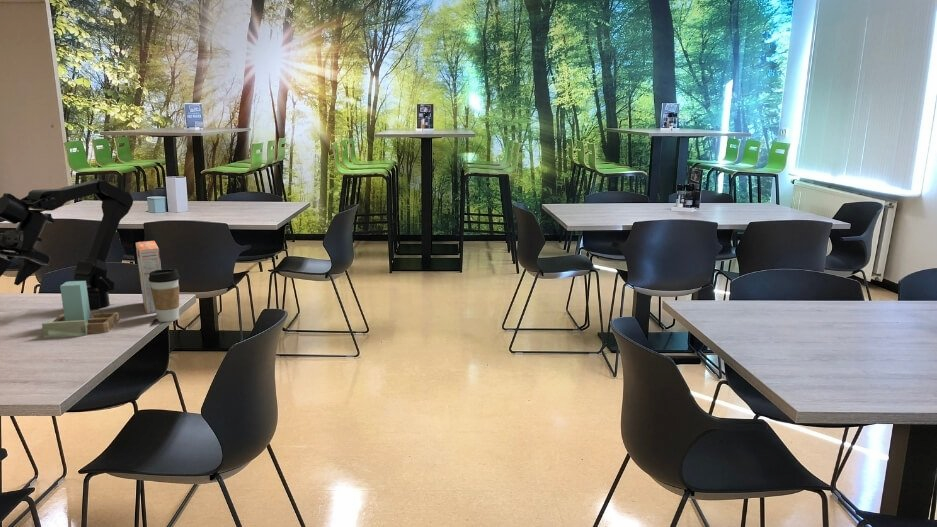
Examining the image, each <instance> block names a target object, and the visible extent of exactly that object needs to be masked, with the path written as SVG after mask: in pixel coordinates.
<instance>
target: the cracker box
mask: <svg viewBox="0 0 937 527" xmlns="http://www.w3.org/2000/svg"><path fill="white" fill-rule="evenodd" d="M135 250H136V257H137V266H138V273H139V280H140V289H141V296H142V303H143V304H142V305H143V308H144V311H145V313H146V314H151V313H153V314H154V313H156V309H155V305H154V300H153V296H152V291H151V283H150V282H149V273H150V272H152V271H155V270H162V266H161V257H160V256H161V255H160V248H159V247H158V245H157V243H156V241H155V240H148V241H145V240H144V241H138V242H135Z"/></svg>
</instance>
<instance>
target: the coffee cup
mask: <svg viewBox="0 0 937 527" xmlns="http://www.w3.org/2000/svg"><path fill="white" fill-rule="evenodd" d="M179 279H180V274H179V271H178V269H177V268H165V269H164V268H163V269H162V268H161V270H155V271H152V272H150V273H149V282H150V283H151V291H152V296H153V300H154V305H155V309H156V312H155V313H156V319H157V321H158V322H161V323H162V322H163V323H168V322H169V323H170V322H173V321H177V320H178V319H180V284H179Z"/></svg>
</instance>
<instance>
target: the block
mask: <svg viewBox="0 0 937 527" xmlns="http://www.w3.org/2000/svg"><path fill="white" fill-rule="evenodd" d="M59 289H60V294H61V301H62V303H61V304H62V309H63V314H64V317H65V321H77V320H86V324H87V323H88V320H89V319H90V318H92V316H91V310H90V308H89V300H88V293H87V285H86V281H75V280H74V281H73V280H72V281H70V280H69V281H66V282H64V283H63V284H60V286H59Z"/></svg>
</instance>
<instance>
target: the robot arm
mask: <svg viewBox="0 0 937 527" xmlns="http://www.w3.org/2000/svg"><path fill="white" fill-rule="evenodd" d="M27 193H28V194H27V195H26V196H24V197H22V198H20V199H19V198H18V197H16V196H15V195H13V194H11V193H6V192H5V193H3V195H2V196H0V219H1V220H4V221H6V222H9V223H10V224H13V225H16V224H17V226H16V228H15V229H10V230H6V231H5V232H4V233H3V232H2V233H1V232H0V278H1V277H2V276H3V274H4V273H5V272H6V271H7V270H8V269H9V267H10V266H11V265H12V263H13V260H14V259H15V258H17V259H18V262H19V268H18V270H17V272H16V275H15V278H14V282H13V285H16V286H20V285H21V284H22V283H23V282H24V281H25V280H27V279H28V278H29V277H31V276H32V275H33V274H34V273H36V272H37V271H39V270H40V269H41V268H44V267H45V266H49V264H50V262H51V260H52V259H51V255H50V254H48V253H46V252H44V251H41V250H39V249H37V248H36V245H37V243H42V240H43V238H41V237H40V236H41V233H42V232H43V230H44V227H45V225H46V223H48V224H55V219H54V218H53V216H52V214H51V213H48V212H50V211H51V212H52V211H55V210H57V209H59V208H61V207H63V206H64V205H65V204H67V203H68V202H70V201H74V200H79V199H82V198H84V197H88V196H92V195H94V196H95V197H96V198H97V199H98V200H100V201H101V211H102V214H103V215H102V219H101V221H100V224H99V226H98V229H97V232H96V235H95V238H94V240H93V243H92V245H91V248H90V251H89V254H88V257H87V258H86V259H85V260H78V261H77V263H76V267H75V270H74V271H73V274H74V277H73V280H74V281H86V285H87V293H88V300H89V308H90V311H91V310H92V311H95V310H96V311H97V310H100V309H104V308H108V307H110V306H113V305H115V304H111V302H110V294H109V293H110V291H113V290H114V289H115V282H114V281H112V280H111V279H110V278H109V277H107V276H108V275H107V274H108V269H107V259H108V255H109V253H110V250H111V248H112V245H113V242H114V239H115V237H116V233H117V231H118V227H119V226H120V223H121V222H120V221H121V220H122V219H123V218H125V217H126V215H128V213H129V212H130V210H131V209H132V207H133V204H134V199H133V197H132V195H131V193H129V192H128V191H124V190H123V189H121V188H119V187H117V186H115V185H112V184H110V182H107V181H106V180H104V179H96V178H95V179H94V178H93V179H90V180H87V181H85V182H84V181H83V182H80V183H75V184H72V185H68V186H64V187H60V188H59V187H58V188H51V189H50V188H42V189H32V190H30V191H29V192H27ZM31 209H32V210H31ZM42 211H45V212H46V211H47V213H44V212H42Z"/></svg>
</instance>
